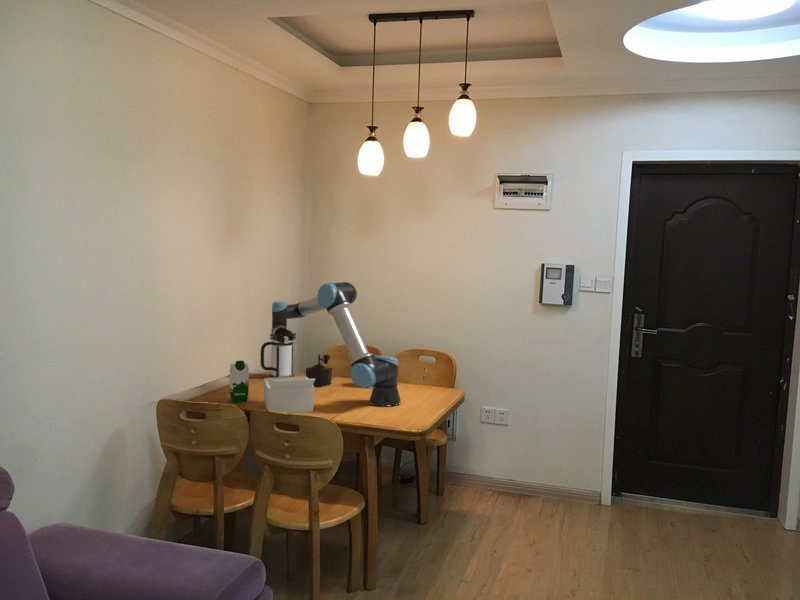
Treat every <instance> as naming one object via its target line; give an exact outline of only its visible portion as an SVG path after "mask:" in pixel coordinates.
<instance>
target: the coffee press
mask: <svg viewBox="0 0 800 600" xmlns="http://www.w3.org/2000/svg"><path fill="white" fill-rule="evenodd" d="M287 330H288V331H289V333H290V334H294V332H293V331H292V330H290V329H287ZM267 346H271V348H270V349H271V352H270V353H271V354H270V355H271V360H270V363H271V364H270V365H271V366H265V348H266V347H267ZM293 363H294V340H293V341H288V344H285V343H281V342H278V341H276V340H273V339H271V340H270V341H266V342H264V343H263V344H261V348H260V367H261V368H262V369H263V370H264V371H271V372H270V373H269V377H270V376H271V377H270V378H273V377H275V378H277V377H296V376H295V375H294V368H293V366H294V364H293Z"/></svg>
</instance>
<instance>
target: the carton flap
mask: <svg viewBox="0 0 800 600" xmlns="http://www.w3.org/2000/svg"><path fill="white" fill-rule="evenodd" d="M314 381H315V379H286V380H272V383H271V387H270V389H273V388H300V387H312V385H313V383H314Z"/></svg>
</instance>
